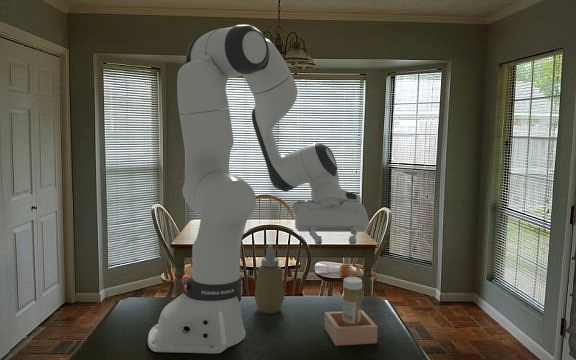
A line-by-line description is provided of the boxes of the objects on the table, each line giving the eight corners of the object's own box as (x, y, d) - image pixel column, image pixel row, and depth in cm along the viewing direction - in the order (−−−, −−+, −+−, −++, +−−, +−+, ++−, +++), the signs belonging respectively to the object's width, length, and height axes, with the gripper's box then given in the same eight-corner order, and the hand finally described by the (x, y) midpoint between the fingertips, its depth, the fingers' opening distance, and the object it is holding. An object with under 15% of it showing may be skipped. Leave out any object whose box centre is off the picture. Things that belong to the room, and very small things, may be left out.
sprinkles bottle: (364, 334, 113) (366, 280, 111) (350, 338, 110) (352, 283, 109) (351, 327, 116) (353, 275, 115) (337, 331, 114) (339, 278, 112)
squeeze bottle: (248, 309, 128) (249, 244, 126) (271, 302, 133) (272, 240, 131) (266, 318, 122) (267, 251, 120) (289, 311, 127) (291, 246, 125)
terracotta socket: (335, 345, 107) (336, 328, 107) (324, 327, 117) (324, 312, 116) (376, 343, 109) (377, 326, 109) (362, 325, 119) (362, 310, 118)
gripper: (293, 193, 127) (299, 237, 118) (365, 195, 131) (375, 237, 122) (289, 207, 132) (295, 249, 123) (358, 208, 136) (368, 249, 127)
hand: (336, 243), depth 123 cm, fingers open, 8 cm apart
